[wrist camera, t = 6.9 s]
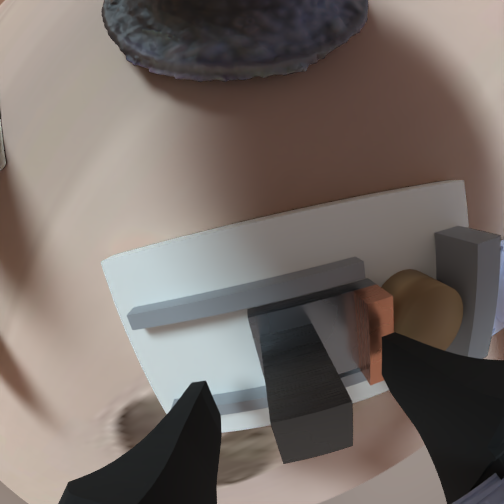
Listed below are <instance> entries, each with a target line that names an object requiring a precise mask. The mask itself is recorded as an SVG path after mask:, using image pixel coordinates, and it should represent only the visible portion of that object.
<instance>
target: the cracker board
mask: <svg viewBox="0 0 504 504" xmlns="http://www.w3.org/2000/svg"><path fill="white" fill-rule="evenodd" d="M500 254H501V235H497V234H493V233H489V232H484V231H480V230H476V229H471V228H469V224H468V211H467V201H466V192H465V185H464V180H446V181H440V182H434V183H428V184H422V185H416V186H411V187H405V188H400V189H394V190H389V191H384V192H378V193H373V194H368V195H363V196H358V197H353V198H348V199H343V200H338V201H333V202H329V203H324V204H319V205H314V206H310V207H305V208H301V209H296V210H291V211H287V212H283V213H278V214H274V215H269V216H265V217H261V218H256V219H252V220H248V221H244V222H239V223H235V224H231V225H227V226H223V227H219V228H215V229H211V230H206V231H202V232H199V233H195V234H191V235H187V236H183V237H179V238H175V239H171V240H167V241H164V242H160V243H156V244H152V245H149V246H145V247H141V248H138V249H134V250H130V251H127V252H123V253H119V254H116V255H113V256H111V257H109V258H107V259H105V260H103V261H101V264H102V268H103V271H104V274H105V277H106V280H107V283H108V286H109V289H110V292H111V294H112V297H113V300H114V303H115V305H116V308H117V311H118V313H119V316H120V318H121V321H122V323H123V326H124V328H125V331H126V333H127V335H128V338H129V340H130V342H131V345H132V347H133V349H134V351H135V354H136V356H137V358H138V360H139V362H140V364H141V366H142V369H143V371H144V373H145V375H146V377H147V379H148V381H149V383H150V385H151V387H152V388H153V390H154V392H155V394H156V396H157V398H158V400H159V402H160V403H161V405H162V407H163V409H164V411H165V412H166V414H168V412H169V411H170V410H171V409H172V407H173V406H174V405H175V404H176V402H177V401H178V400H179V398H180V397H181V396H182V394H183V393H184V392H185V390H186V389H187V388H188V386H189V385H190V384H191V383H192V382H199V381H206V382H207V384H208V387H209V389H210V391H211V394H212V396H213V398H214V401H215V403H216V405H217V407H218V410H219V412H220V414H221V433H223V432H231V431H238V430H245V429H251V428H257V427H263V426H268V425H271V424H270V417H269V409H268V401H267V393H266V385H265V379H264V376H263V372H262V369H261V365H260V361H259V358H258V354H257V351H256V347H255V343H254V340H253V336H252V332H251V329H250V325H249V321H248V315H247V309H249V308H254V307H258V306H262V305H267V304H271V303H275V302H279V301H283V300H287V299H292V298H296V297H300V296H303V295H307V294H311V293H315V292H319V291H323V290H326V289H330V288H334V287H338V286H341V285H345V284H348V283H352V282H355V281H359V280H362V279H366V278H369V279H370V280H371V281H373V282H374V283H376V284H377V285H378V286H380V287H382V285H383V284H384V283H385V282H386V281H387V280H388V279H389V278H390V277H391V276H392V275H394V274H396V273H397V272H399V271H402V270H406V269H414V270H418V271H420V272H422V273H424V274H426V275H428V276H430V277H432V278H434V279H436V280H438V281H440V282H442V283H444V284H446V285H448V286H450V287H451V288H453V289H455V290H456V291H457V292H458V293H459V295H460V296H461V299H462V303H463V317H462V322H461V325H460V328H459V331H458V333H457V335H456V337H455V338H454V340H453V342H452V343H451V344H450V346H449V347H448V348H447V349H446V350H445V351H448V352H451V353H455V354H458V355H463V356H467V357H473V358H479V359H483V358H484V357H486V356H487V355H488V351H489V346H490V342H491V337H492V331H493V326H494V320H495V313H496V306H497V298H498V288H499V276H500ZM339 376H340V378H341V380H342V382H343V384H344V386H345V388H346V390H347V392H348V394H349V396H350V398H351V400H352V404H353V403H356V402H359V401H362V400H365V399H367V398H370V397H373V396H375V395H378V394H381V393H383V392H386V391H388V390H389V388H388V386H387V384H386V382H385V380H384V381H381V382H378V383H376V384H373V385H370V384H369V383H368V381H367V379H366V378H365V376H364V375H363V373H362V372H361V370H360V368H357V369H354V370H351V371H347V372H344V373H341V374H339Z"/></svg>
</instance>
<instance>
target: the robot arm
mask: <svg viewBox="0 0 504 504" xmlns="http://www.w3.org/2000/svg"><path fill="white" fill-rule="evenodd" d="M503 328H504V240H502V241H501V254H500V276H499V288H498V298H497V306H496V313H495V320H494V326H493V331H492V336H493V335H494V334H496V333H497V332H499V331H500V330H502V329H503ZM382 376H383V378H384V380H385V382H386V384H387V386H388V388H389V390H390V392H391V393H392V395H393V396H394V398H395V399H396V401H397V402H398V403H399V405H400V406H401V408H402V409H403V410H404V412H405V413H406V415H407V416H408V417H409V419H410V420H411V422H412V423H413V424H414V426H415V427H416V429H417V430H418V432H419V434H420V436H421V438H422V440H423V441H424V443H425V445H426V447H427V449H428V452H429V454H430V456H431V458H432V461H433V463H434V465H435V468H436V470H437V473H438V476H439V478H440V481H441V484H442V487H443V490H444V494H445V497H446V501H447V504H504V360H488V359H479V358H473V357H467V356H463V355H458V354H455V353H451V352H448V351H444V350H441V349H438V348H435V347H432V346H430V345H427V344H424V343H422V342H419V341H417V340H414V339H412V338H409V337H407V336H404V335H401V334H399V333H396V332H394V333H391V334H388V335H385V336H383V337H382ZM220 445H221V414H220V412H219V410H218V407H217V405H216V403H215V401H214V398H213V396H212V394H211V391H210V389H209V387H208V384H207V382H206V381H199V382H192V383H191V384H190V385H189V386H188V388H187V389H186V390H185V392H184V393H183V394H182V396H181V397H180V398H179V400H178V401H177V402H176V404H175V405H174V406H173V407H172V409H171V410H170V411H169V412H168V414H167V415H166V416H165V417H164V418H163V419H162V420H161V421H160V423H159V424H158V425H157V426H156V427H155V428H154V429H153V430H152V431H151V432H150V433H149V434H148V435H147V436H146V437H145V438H144V439H143V440H142V441H140V442H139V443H138V444H137V445H136V446H135V447H133V448H132V449H131V450H129V451H128V452H127V453H125V454H124V455H122V456H121V457H119V458H118V459H117V460H115V461H113V462H112V463H110V464H108V465H107V466H105V467H103V468H101V469H99V470H97V471H95V472H93V473H91V474H88V475H86V476H83V477H81V478H78V479H75V480H73V481H70V482H68V484H67V486H66V489H65V491H64V493H63V495H62V497H61V499H60V501H59V503H58V504H217V491H216V485H217V472H218V463H219V454H220Z"/></svg>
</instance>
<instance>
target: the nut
mask: <svg viewBox="0 0 504 504" xmlns="http://www.w3.org/2000/svg"><path fill="white" fill-rule="evenodd" d="M381 288H383V289H384V290H385V291H387V292H388V293H390V294H391V295H392V296H393V311H394V332H396V333H399V334H401V335H404V336H407V337H409V338H412V339H414V340H417V341H419V342H422V343H424V344H427V345H430V346H432V347H435V348H438V349H441V350H444V351H445V350H446V349H447V348H448V347H449V346H450V344H451V343H452V342H453V340H454V338H455V337H456V335H457V333H458V331H459V328H460V325H461V322H462V317H463V303H462V299H461V296H460V295H459V293H458V292H457V291H456V290H455V289H453V288H451V287H450V286H448V285H446V284H444V283H442V282H440V281H438V280H436V279H434V278H432V277H430V276H428V275H426V274H424V273H422V272H420V271H418V270H414V269H406V270H402V271H399V272H397V273H396V274H394V275H392V276H391V277H390V278H389V279H388V280H387V281H386V282H385V283H384V284H383V285H382V287H381Z"/></svg>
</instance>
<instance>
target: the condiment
mask: <svg viewBox="0 0 504 504" xmlns="http://www.w3.org/2000/svg"><path fill="white" fill-rule="evenodd" d="M5 165H6V159H5V154H4V146H3V137H2V128H1V121H0V171H1V170H2V169H3V168H4V166H5Z"/></svg>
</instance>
